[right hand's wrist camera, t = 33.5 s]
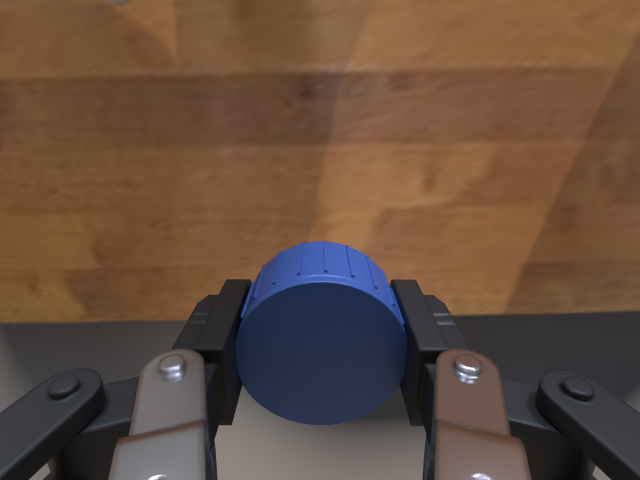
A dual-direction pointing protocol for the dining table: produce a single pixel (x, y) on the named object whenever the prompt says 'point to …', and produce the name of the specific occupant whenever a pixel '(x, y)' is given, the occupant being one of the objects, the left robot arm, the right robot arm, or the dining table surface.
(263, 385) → the cap
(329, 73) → the dining table surface
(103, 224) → the dining table surface
